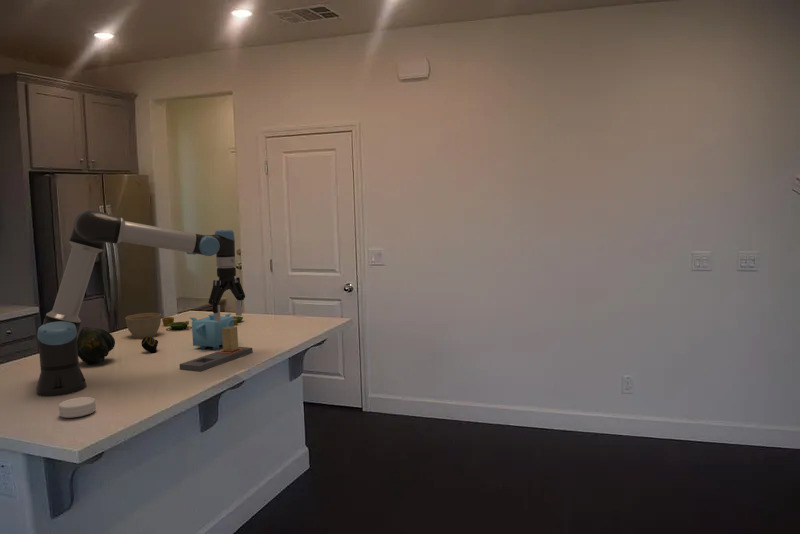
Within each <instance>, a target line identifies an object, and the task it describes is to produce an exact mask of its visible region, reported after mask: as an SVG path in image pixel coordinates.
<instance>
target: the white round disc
mask: <svg viewBox="0 0 800 534" xmlns="http://www.w3.org/2000/svg"><path fill="white" fill-rule="evenodd" d="M96 409H97V407H96V399H95V398H93V397H89V396H81V397H74V398H70V399H66V400H64V401H61V402H60V403H59V404H58V411H59V412H58V413H59V414H58V415H59V416H60V417H62V418H66V419H67V418H68V419H69V418H70V419H71V418H72V419H73V418H80V417H85V416H87V415H90V414H92V413H94V412H95V411H96Z"/></svg>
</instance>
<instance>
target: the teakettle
mask: <svg viewBox="0 0 800 534" xmlns="http://www.w3.org/2000/svg"><path fill="white" fill-rule="evenodd" d="M231 315H232V313H230V312H229V313H226V314H225V315H224V316H223V315H222V316H221V315H220V320H221V321H214V313H213V314H212V313H211V314H208V316H207V317H203V318H199V319H197V317H189V319H190V320H192V321H191V327H192V329H191V330H192V331H191V334H192V346H194V347H195V346H196V347H199V349H200V350H201V349H202V350H203V349H207V347H211V348H212V350H213V351H214V350H215V351H216V350H218V351H219V350H220V346H222V347H223V342H222V328H225V327H228V326H230V327H235V326H234V321H235V320H237V319H233V317H234V316H231Z"/></svg>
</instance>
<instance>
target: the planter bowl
mask: <svg viewBox="0 0 800 534" xmlns="http://www.w3.org/2000/svg"><path fill="white" fill-rule="evenodd" d="M124 320H125V324H126V327H127V329H128V332H130V334H131V335H132V336H133V338H134V339H142V340H143V339H144V338H145V337H148V336H149V337H152V338H154V337H155V336H156V334H157V332H158V331H159V329H160V327H161V321H162V314H161V313H157V312H145V313H137V314H130V315H128V316H125V318H124Z"/></svg>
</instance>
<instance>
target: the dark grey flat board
mask: <svg viewBox="0 0 800 534" xmlns="http://www.w3.org/2000/svg"><path fill="white" fill-rule="evenodd" d="M253 349H254V348H253V347H248V346H247V347H246V346H238V351H235V352H232V353H231V352H223V349H221V350H218V351H215V352H212V353H209V354H205V355H203V356H199V357H197V358H194V359H191V360H188V361H185V362H182V363H179V370H182V371H183V370H185V371H192V372H193V371H194V372H202V371H205V370H208V369H210V368H213V367H216V366H219V365H221V364H224V363H227V362H230V361H232V360H233V361H234V360H235V359H238V358H241V357H243V356H247V355H249V354H251V353H253Z"/></svg>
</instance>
